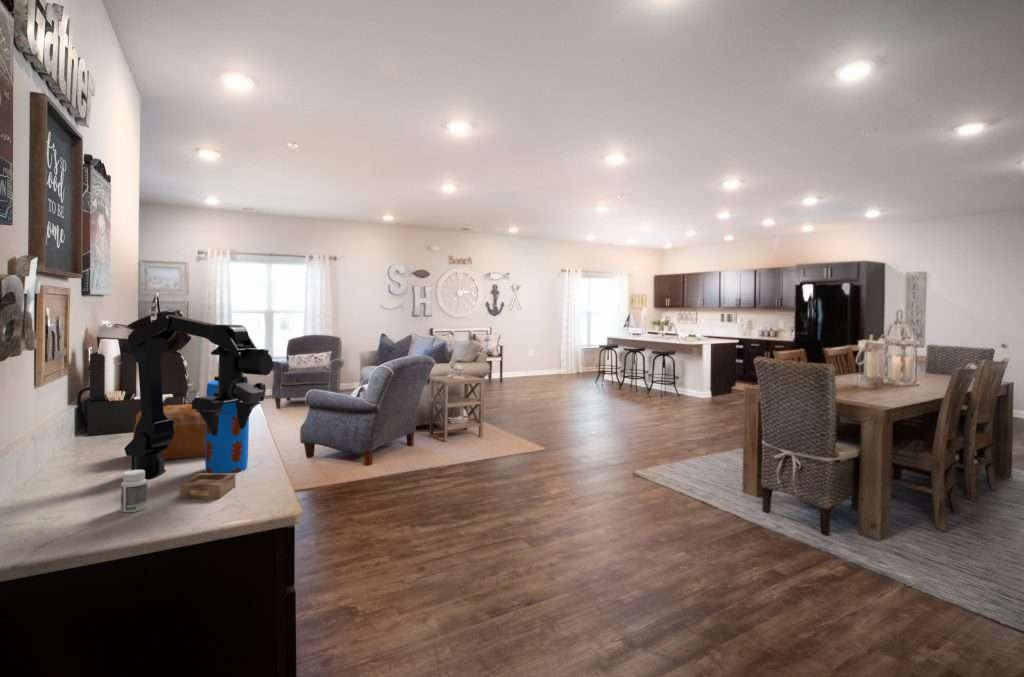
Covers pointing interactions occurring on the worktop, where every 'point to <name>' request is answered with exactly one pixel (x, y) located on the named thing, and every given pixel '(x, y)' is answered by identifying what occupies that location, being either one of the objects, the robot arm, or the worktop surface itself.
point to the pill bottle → (133, 491)
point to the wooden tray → (207, 486)
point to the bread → (184, 432)
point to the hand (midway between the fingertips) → (228, 431)
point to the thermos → (226, 440)
